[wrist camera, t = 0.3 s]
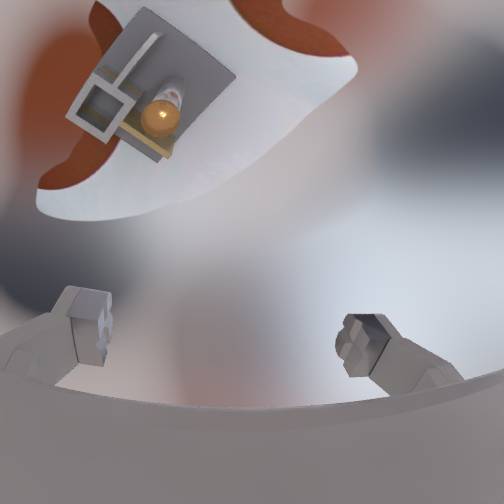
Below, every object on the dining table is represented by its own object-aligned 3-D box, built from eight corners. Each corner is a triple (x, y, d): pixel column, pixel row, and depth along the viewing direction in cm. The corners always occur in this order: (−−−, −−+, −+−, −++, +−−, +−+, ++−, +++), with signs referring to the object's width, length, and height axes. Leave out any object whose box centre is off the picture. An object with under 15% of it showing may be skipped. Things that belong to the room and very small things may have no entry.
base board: (144, 6, 37) (143, 6, 36) (235, 75, 48) (236, 77, 48) (73, 103, 46) (70, 105, 45) (158, 160, 58) (157, 162, 57)
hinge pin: (173, 68, 45) (156, 94, 31) (193, 83, 47) (187, 116, 34) (156, 88, 47) (133, 123, 33) (176, 103, 49) (163, 144, 36)
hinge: (144, 18, 38) (133, 18, 32) (227, 81, 48) (230, 91, 42) (81, 102, 45) (64, 117, 40) (159, 155, 56) (154, 175, 50)
